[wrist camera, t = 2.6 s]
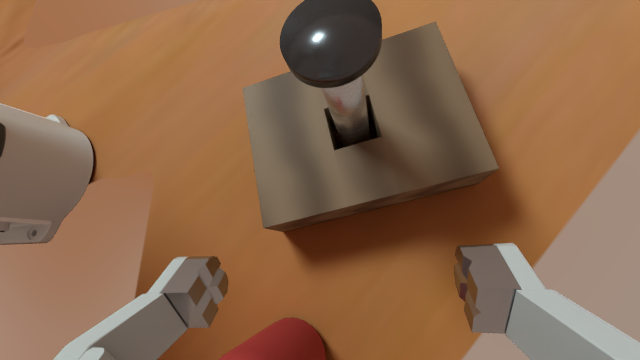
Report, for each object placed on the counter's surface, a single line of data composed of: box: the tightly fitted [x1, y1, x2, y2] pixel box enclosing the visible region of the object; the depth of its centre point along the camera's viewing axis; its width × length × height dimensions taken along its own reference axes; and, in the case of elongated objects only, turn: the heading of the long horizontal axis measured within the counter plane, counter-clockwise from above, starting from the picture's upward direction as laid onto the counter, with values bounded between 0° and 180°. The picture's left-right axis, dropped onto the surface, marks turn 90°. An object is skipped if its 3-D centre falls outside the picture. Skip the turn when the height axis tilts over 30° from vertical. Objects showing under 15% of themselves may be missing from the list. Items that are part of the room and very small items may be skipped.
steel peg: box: [280, 0, 382, 147], centre depth 22 cm, size 6×6×16 cm
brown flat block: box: [243, 22, 499, 232], centre depth 28 cm, size 20×15×5 cm
